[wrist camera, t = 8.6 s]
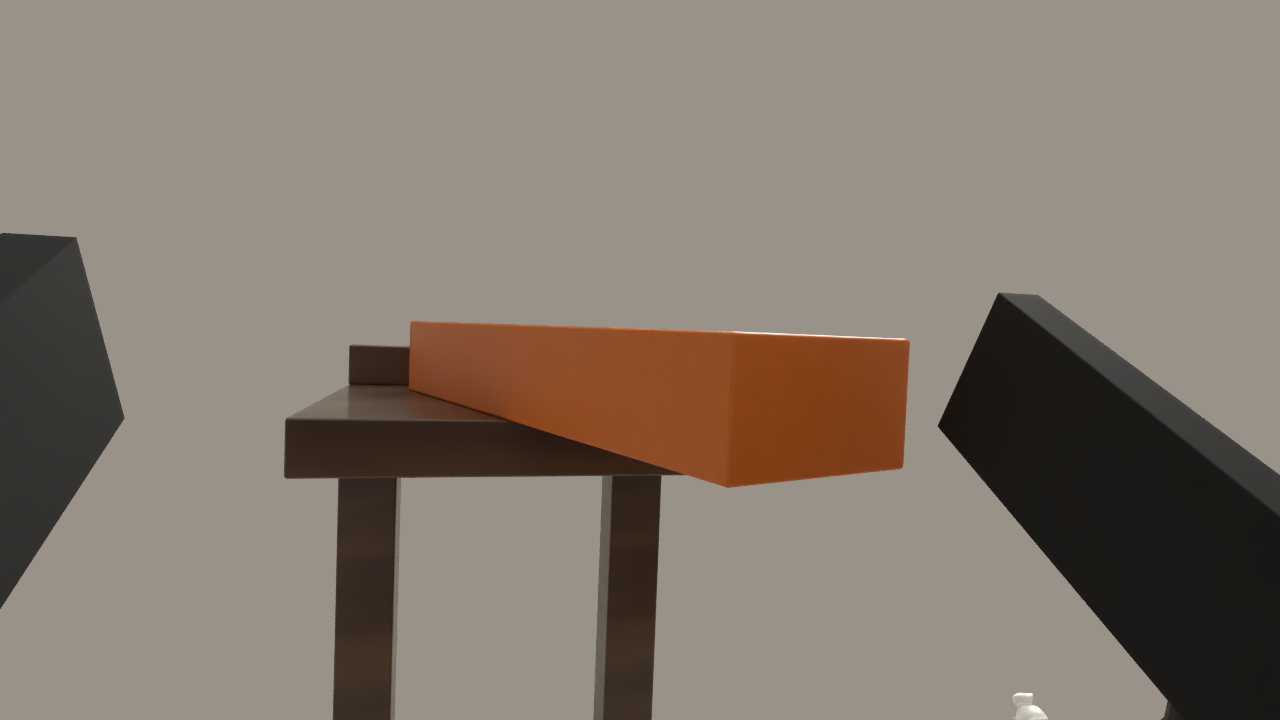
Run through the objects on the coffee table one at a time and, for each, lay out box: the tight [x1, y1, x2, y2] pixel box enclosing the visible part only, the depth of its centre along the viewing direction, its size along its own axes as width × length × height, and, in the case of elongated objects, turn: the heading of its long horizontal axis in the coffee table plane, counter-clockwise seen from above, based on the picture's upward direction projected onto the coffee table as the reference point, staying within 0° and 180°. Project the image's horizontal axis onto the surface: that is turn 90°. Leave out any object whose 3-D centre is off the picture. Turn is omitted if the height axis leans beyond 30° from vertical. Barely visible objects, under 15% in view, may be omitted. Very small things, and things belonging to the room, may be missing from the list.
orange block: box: [409, 321, 910, 488], centre depth 20 cm, size 18×4×2 cm, turn 33°
